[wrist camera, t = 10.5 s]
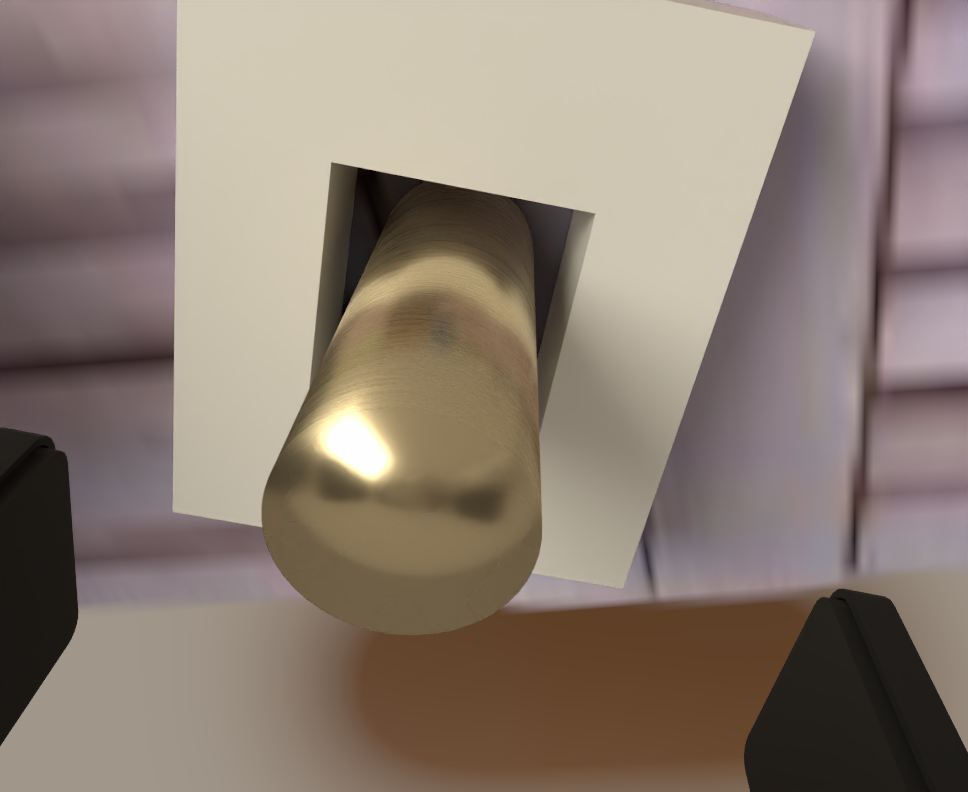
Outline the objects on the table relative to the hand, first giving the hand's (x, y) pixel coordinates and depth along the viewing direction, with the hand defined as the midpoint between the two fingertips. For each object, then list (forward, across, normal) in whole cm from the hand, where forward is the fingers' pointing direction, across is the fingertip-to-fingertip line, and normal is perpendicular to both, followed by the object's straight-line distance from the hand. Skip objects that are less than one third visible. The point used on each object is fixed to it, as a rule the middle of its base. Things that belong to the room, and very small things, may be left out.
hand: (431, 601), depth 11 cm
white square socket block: (+14, +1, 0) cm, 14 cm away
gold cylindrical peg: (+14, +1, 0) cm, 14 cm away
